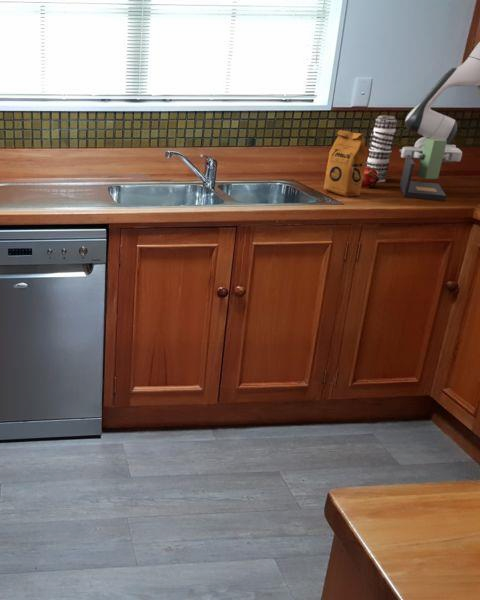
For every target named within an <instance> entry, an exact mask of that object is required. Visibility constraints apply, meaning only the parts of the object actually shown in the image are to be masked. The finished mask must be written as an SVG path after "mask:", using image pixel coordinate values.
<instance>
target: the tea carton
mask: <svg viewBox="0 0 480 600" xmlns="http://www.w3.org/2000/svg"><path fill="white" fill-rule="evenodd" d="M446 143H447V140H443V139H426V140H425V144H424V149H423V156H422V157H423V158H422V159H421V162H420V161H419V162H420V163H419V167H418V171H417V176H416V177H418V178H421V179H424V180H438V179H439V176H440V173H441V172H440V171H441V167H442V163H443V162H442V159H443V155H444V151H445V147H446Z"/></svg>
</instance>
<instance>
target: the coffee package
mask: <svg viewBox="0 0 480 600" xmlns="http://www.w3.org/2000/svg"><path fill="white" fill-rule="evenodd" d="M366 157H367V156H366V145H365V135H364V133H359V132H352V131H347V130H343V129H340V130H338V131H337V137H336V139H335V141H333V145H332V146H331V148H330V150H329V152H328V160H327V165H326V171H325V178H324V184H323V187H322V189H323V190H324V191H327V192H331V193H333V194H336V195H339V196H343V197H345V198H348V197H349V198H350V197H351V198H352V197H359V196H360V195H361V193H360V192H361V189H362V185H361V184H362V181H363V177H364V168H365V166H366Z"/></svg>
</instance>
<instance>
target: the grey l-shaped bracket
mask: <svg viewBox="0 0 480 600" xmlns="http://www.w3.org/2000/svg"><path fill="white" fill-rule="evenodd" d="M403 164H404V165H403V169H402V174H401V178H400V183H399V187H400V190H401V193H402V192H403V193H402V195H404V196H403V198H407V197H410V198H409V199H417V198H421V200H429V201H439V202H446V198H447V195H446V193H445V192H444V190H443V189H442V187H441V185H440V184H439V183H436V182H425V181H424V182H423V181H413V180H412V178H413V173H414V168H415V162H414V159H412V158H411V156H410V155H407V157H406V158H405V160H404V163H403Z"/></svg>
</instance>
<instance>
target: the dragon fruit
mask: <svg viewBox="0 0 480 600" xmlns="http://www.w3.org/2000/svg"><path fill="white" fill-rule="evenodd" d="M379 179H380V178H379V175H377V172H376V170H374V169H372V168H371V167H370V166H367V167H366V165H365V168H364V177H363V181H362V184H361V187H363V188H366V189H368V188H371V186H376V185H377V184H378V182H377V181H379Z"/></svg>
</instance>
